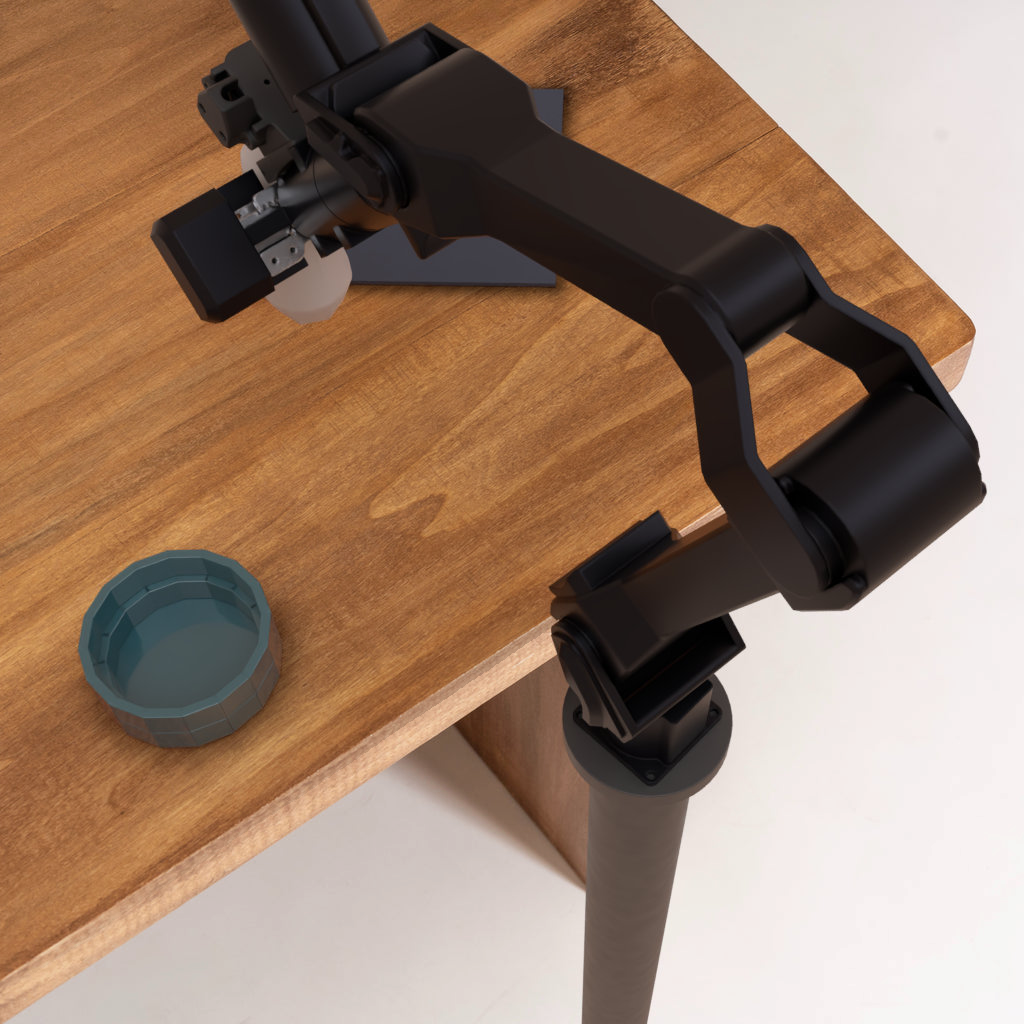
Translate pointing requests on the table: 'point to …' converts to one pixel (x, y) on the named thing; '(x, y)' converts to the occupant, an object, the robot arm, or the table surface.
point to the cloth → (455, 246)
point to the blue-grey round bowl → (181, 648)
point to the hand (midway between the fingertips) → (281, 213)
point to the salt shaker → (306, 272)
